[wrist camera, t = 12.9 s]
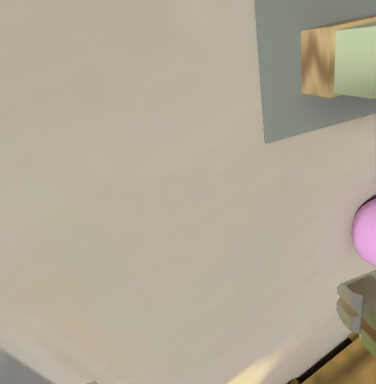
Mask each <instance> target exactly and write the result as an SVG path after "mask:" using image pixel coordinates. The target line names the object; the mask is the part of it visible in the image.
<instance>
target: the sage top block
mask: <svg viewBox="0 0 376 384" xmlns="http://www.w3.org/2000/svg"><path fill="white" fill-rule="evenodd" d="M334 93H336V94H343V95H349V96H356V97H362V98H369V99H374V98H376V22H372V23H368V24H363V25H359V26H354V27H350V28H346V29H341V30H337V31H336V44H335V73H334Z"/></svg>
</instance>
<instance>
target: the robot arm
mask: <svg viewBox="0 0 376 384" xmlns="http://www.w3.org/2000/svg"><path fill="white" fill-rule="evenodd" d="M337 293H338V294H339V295H340V298H339V299H338V301H337V312H338V314H339V317H340V319H341V320H342V322H343V323H344V324H345V326H346V327H347V328H348V329H349V330H350V331H353V332H355V333H357V334H359V337H360V342H361V343H362V344H363V345H364V346H365V347H366V348H367V350H368V351H369V352H370V353H371V354H372V355H373V356H374V357H375V358H376V270H374V271H372V272H369V273H367V274H363V275H361V276H358V277H356V278H353V279H351V280H349V281H346V282H344V283H341V284H339V286H338V287H337ZM87 384H97V383H96V381H93V382H90V383H87Z"/></svg>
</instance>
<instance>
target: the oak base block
mask: <svg viewBox="0 0 376 384" xmlns="http://www.w3.org/2000/svg"><path fill="white" fill-rule="evenodd" d="M372 22H376V16H372V17H365V18H358V19H352V20H348V21H343V22H338V23H334V24H329V25H325V26H320V27H316V28H311V29H307V30H302V31H301V76H302V93H304V94H310V95H315V96H321V97H327V98H333V97H336V96H340V95H343V94H336V93H334V73H335V44H336V31H337V30H341V29H346V28H350V27H354V26H359V25H363V24H368V23H372Z"/></svg>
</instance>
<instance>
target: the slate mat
mask: <svg viewBox="0 0 376 384" xmlns="http://www.w3.org/2000/svg"><path fill="white" fill-rule="evenodd" d="M255 13H256V27H257V41H258V54H259V68H260V82H261V96H262V110H263V124H264V138H265V143H270V142H273V141H277V140H281V139H284V138H288V137H291V136H295V135H298V134H302V133H306V132H309V131H313V130H316V129H320V128H324V127H327V126H331V125H334V124H338V123H341V122H345V121H349V120H352V119H356V118H359V117H363V116H366V115H370V114H374V113H376V98H374V99H369V98H362V97H356V96H349V95H340V96H336V97H333V98H327V97H321V96H315V95H310V94H304V93H302V76H301V31H302V30H307V29H311V28H316V27H320V26H325V25H329V24H334V23H338V22H343V21H348V20H352V19H358V18H365V17H372V16H376V0H255Z"/></svg>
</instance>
